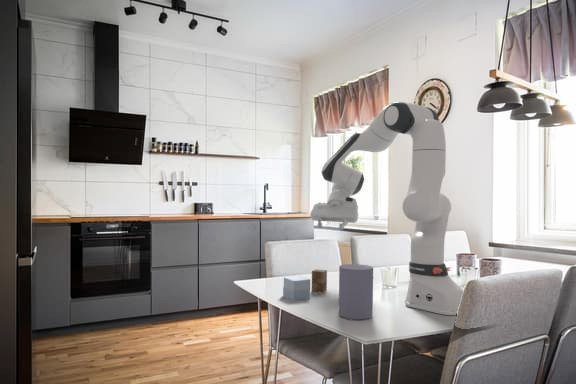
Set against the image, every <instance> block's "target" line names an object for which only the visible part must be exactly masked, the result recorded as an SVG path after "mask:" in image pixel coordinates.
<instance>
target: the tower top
mask: <svg viewBox="0 0 576 384" xmlns="http://www.w3.org/2000/svg"><path fill="white" fill-rule="evenodd" d="M283 287H285V288H287V289H290V290H292V291H298V290H307V289H310V290H311V278H307V277H304V276H302V275H297V276H288V277H287V276H286V277H283Z"/></svg>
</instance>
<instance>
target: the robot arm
mask: <svg viewBox="0 0 576 384" xmlns="http://www.w3.org/2000/svg"><path fill="white" fill-rule="evenodd" d="M439 119H440V118H439V115H438V113H437V112H436V110H433V109H432V108H430V107H427V106H423V105H419V104H417V103H413V102H404V101H396V102H395V101H394V102H392V103H390V104H389V105H387V106H385V107H383V109H381V110H380V111H379V113H378V114H377V115H376V116H375V117H374V118H373V120H372V122H371V123H370V124H369V126H368V127H367V128H366V129H364V130H362V131H357V132H355V133H353V134H352V135H351V136H350V137H349V138H348V139H347V140H346V141H345V143H344V144H342V146H340V148H339V149H338V150H337V151H336V152H335V153H334V154H333V155H332V157H330V158H329V159H328V160H327V161H326V162H325V163H324V164H323V166H322V168H321V175H322V178H323V179H324V180H325V181H326V182H330V183H332V184H333V185H332V188H331V193H330V194H329V197H328V200H327V201H326V202H317V203H315V204H314V205H313V208H312V210H311V211H310V218H311V220H312V221H313V222H316V221H317V224H316V227H317V228H319V229H322V228H323V222H331V223H332V222H336V223H339V225H338V228H339V230H344V229H345V226H347V225H348V223H352V224H353V223H354V224H355V223H357V222H358V219H359V211H358V210H359V206H358V203H357V200H356V198H354V197H351V196H355V195H356V194H358V193H359V192H360V191H361V189H362V188H363V185H364V182H365V178H364V177H365V176H364V174H363V172H362V171H360V170H359V169H356V168H354V167H352V166H350V165H349V164H346V163H344V162H343V161H345V159H346V158H347V157H348V156H349V155H350V154H351V153H352V152H356V151H361V152H362V151H363V152H370V153H381V152H384V151H386V150H387V149H388V148H389V147H390V145H392V143H393V142H394V141H395V139H396V138H397V136H398V134H403V135H410V137H411V138H412V149H411V150H412V152H411V153H412V156H411V174H410V181H409V185H408V189H407V195H406V196H405V198H404V199H403V202H402V211H403V214H404V215H405V217H406V218H407V219H408V220H410V221H413V222H415V226H414V231H413V233H412V236H411V238H410V261H409V264H408V272H409V280H408V289H407V292H406V297H405V300H404V303H405V306H406V307H409V308H413V309H417V310H422V311H427V312H432V313H436V314H440V315H444V316H445V315H446V316H457V315H456V314H457V311H458V307H459V304H460V301H461V297H462V294H463V291H464V290H463V289H462V288H461V286H459V285H458V284H457V283H456V282H455V280H453V279H452V278H451V277H450V276H449V273H448V272H450V271H452V270H451V268H452V267H450V266H449V267H447V266H446V263H445V238H446V234H447V233H446V232H447V229H448V223H449V217H450V213H451V211H452V203H451V201H450V199H449V198H448V197H447V195H445V194H443V193H442V192H441V188H442V184H443V180H444V178H445V176H446V163H447V162H446V157H447V156H446V155H447V151H446V150H447V149H446V148H447V145H446V133H445V128H444V124H443V123H442V122H441V121H440V120H439Z"/></svg>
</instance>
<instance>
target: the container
mask: <svg viewBox="0 0 576 384" xmlns="http://www.w3.org/2000/svg"><path fill="white" fill-rule="evenodd" d="M338 267H339V268H338V270H339V271H338V273H339V274H338V316H340V317H341V318H343V319H345V318H346V319H345V320H350V319H352V320H354V321H365V320H364V319H366V320H369V319H371V318H373V309H374V307H373V305H374V302H373V301H374V267H373V266H371V265H368V264H357V263H356V264H355V263H347V264H345V263H344V264H340V265H338ZM352 320H351V321H352Z"/></svg>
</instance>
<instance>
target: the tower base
mask: <svg viewBox="0 0 576 384" xmlns="http://www.w3.org/2000/svg"><path fill="white" fill-rule="evenodd" d="M282 289H283V290H282V297H284V298H286V299H289V300H291V301H297V300H299V301H300V300H304V299H310V298H311V297H310V296H311V288H310V289H307V290H298V291H292V290H290V289H287V288H285V287H284V286H283V288H282Z"/></svg>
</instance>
